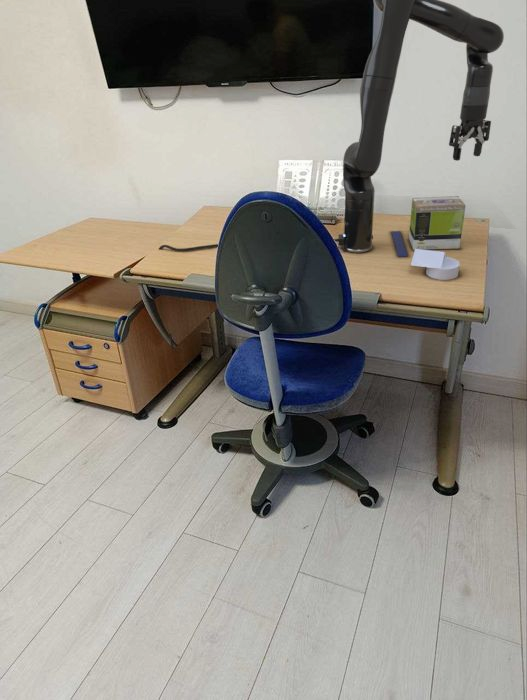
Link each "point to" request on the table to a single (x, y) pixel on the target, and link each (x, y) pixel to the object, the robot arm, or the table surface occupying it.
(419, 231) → the tea box
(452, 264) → the wedge on round base
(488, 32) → the robot arm
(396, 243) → the ruler
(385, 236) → the table surface
